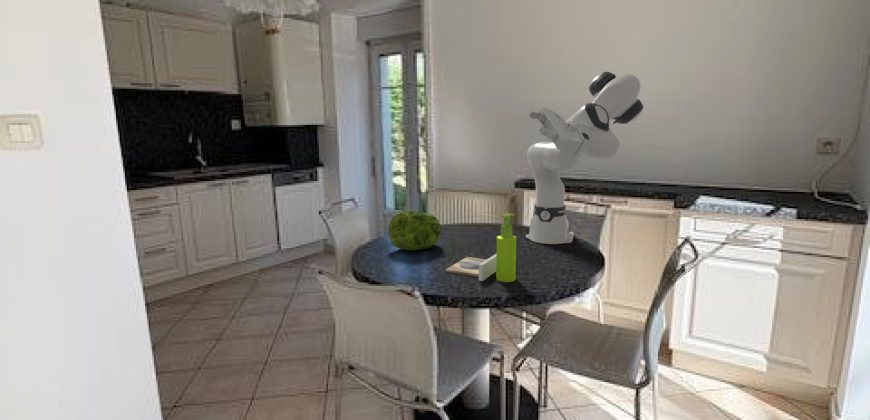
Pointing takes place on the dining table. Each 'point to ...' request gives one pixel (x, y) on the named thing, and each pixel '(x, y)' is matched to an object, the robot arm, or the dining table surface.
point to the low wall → (487, 268)
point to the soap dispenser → (506, 252)
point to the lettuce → (414, 230)
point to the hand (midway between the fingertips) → (535, 121)
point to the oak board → (466, 266)
